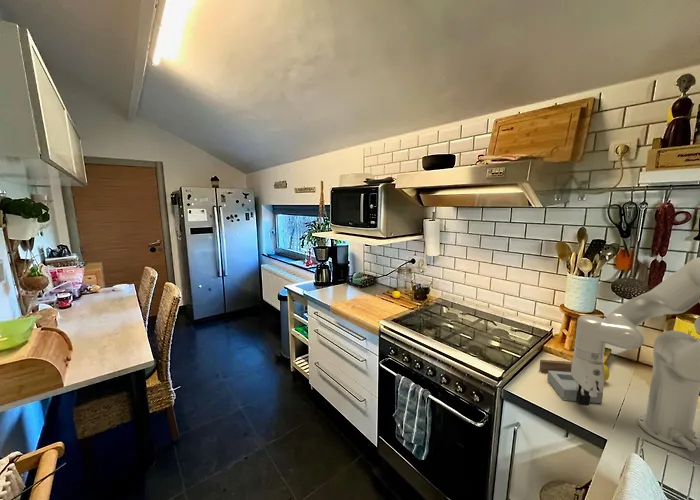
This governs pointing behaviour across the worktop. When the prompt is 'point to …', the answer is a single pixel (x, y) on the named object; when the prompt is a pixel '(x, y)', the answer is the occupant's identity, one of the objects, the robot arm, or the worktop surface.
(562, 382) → the tray
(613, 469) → the worktop surface
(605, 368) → the lemon
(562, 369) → the wall
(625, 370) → the worktop surface
